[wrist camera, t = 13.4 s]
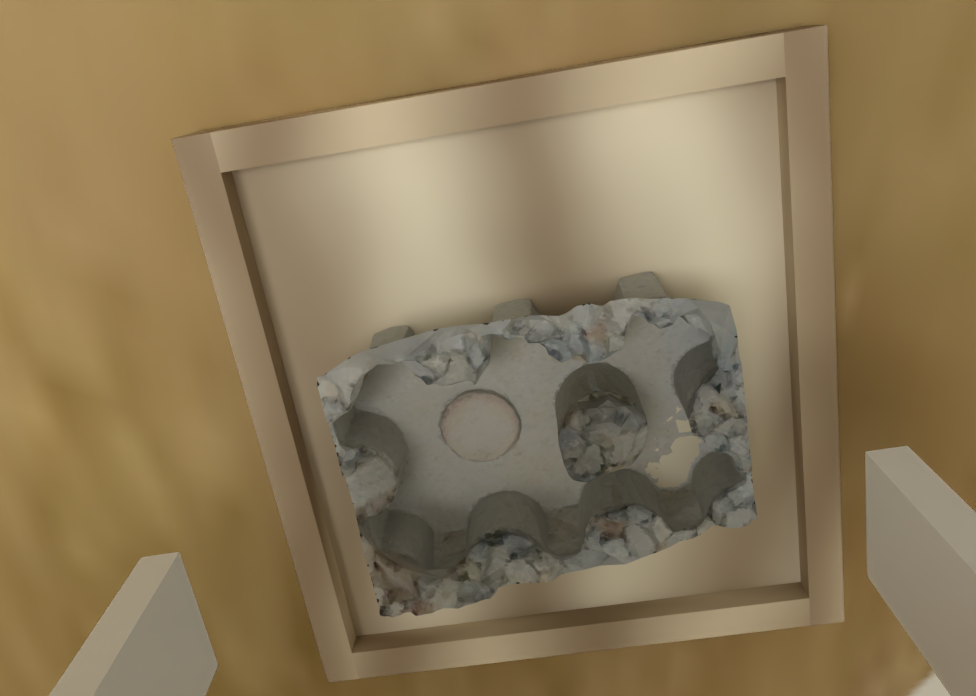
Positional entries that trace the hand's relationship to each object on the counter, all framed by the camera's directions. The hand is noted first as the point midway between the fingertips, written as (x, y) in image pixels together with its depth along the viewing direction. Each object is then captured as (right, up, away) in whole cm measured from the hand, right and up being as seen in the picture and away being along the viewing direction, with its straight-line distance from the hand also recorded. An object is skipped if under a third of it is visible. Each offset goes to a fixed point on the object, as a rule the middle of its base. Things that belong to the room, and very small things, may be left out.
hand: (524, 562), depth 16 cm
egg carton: (+1, +3, +8) cm, 9 cm away
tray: (+1, +3, +9) cm, 9 cm away
